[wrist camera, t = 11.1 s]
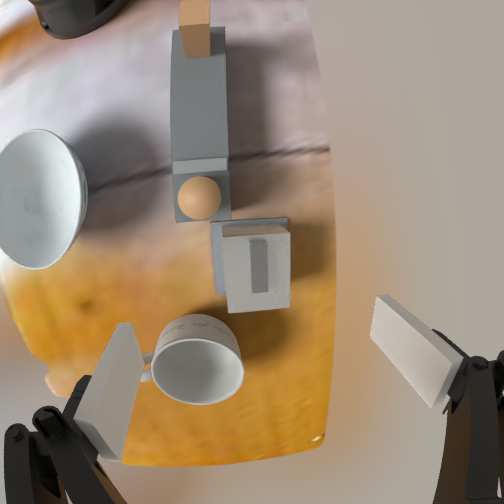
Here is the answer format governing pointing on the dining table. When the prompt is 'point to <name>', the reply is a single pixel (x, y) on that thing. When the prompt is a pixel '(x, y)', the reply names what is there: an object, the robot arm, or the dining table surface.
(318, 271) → the dining table surface
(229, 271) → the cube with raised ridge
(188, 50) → the plane
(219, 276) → the mat
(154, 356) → the teacup
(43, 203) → the chinaware
